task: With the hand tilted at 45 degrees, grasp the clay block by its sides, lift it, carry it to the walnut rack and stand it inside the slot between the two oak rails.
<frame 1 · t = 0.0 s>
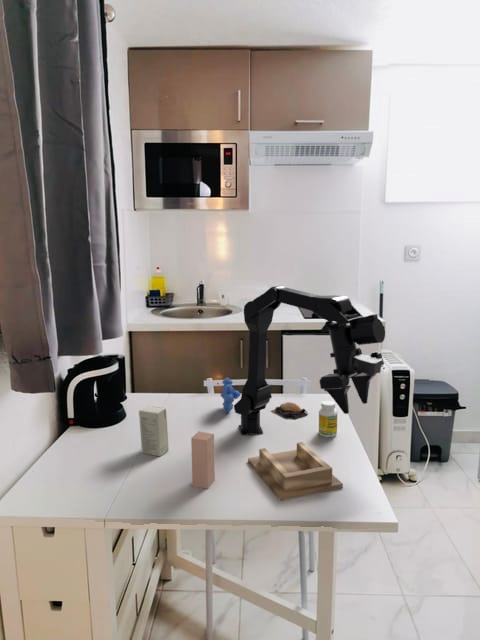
hand: (356, 408, 123), 15 cm above the table, tool pointing down, fingers open, 9 cm apart
skincare box: (154, 452, 135), on the table
clay block: (203, 483, 118), on the table
rack: (292, 474, 122), on the table
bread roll: (289, 414, 162), on the table
supplement bottle: (327, 434, 146), on the table
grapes: (230, 412, 164), on the table
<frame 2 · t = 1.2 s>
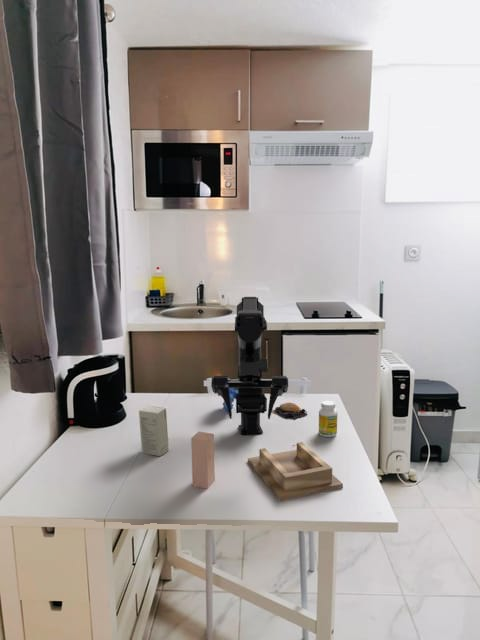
hand: (249, 418, 119), 15 cm above the table, tool tilted 35°, fingers open, 9 cm apart
nothing on the table moved.
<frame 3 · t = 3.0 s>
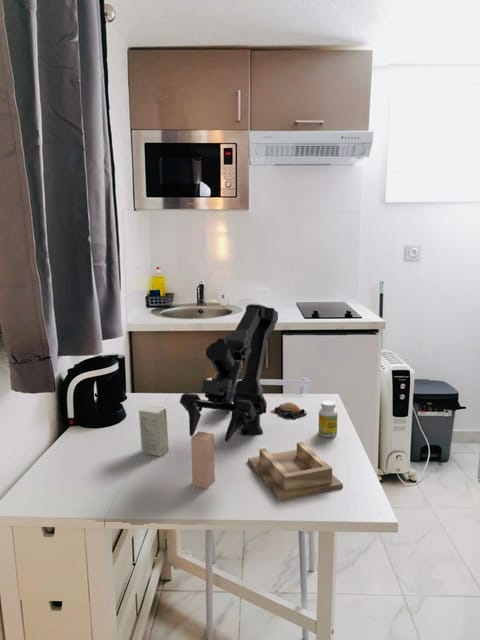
hand: (208, 438, 119), 10 cm above the table, tool tilted 45°, fingers open, 9 cm apart
nothing on the table moved.
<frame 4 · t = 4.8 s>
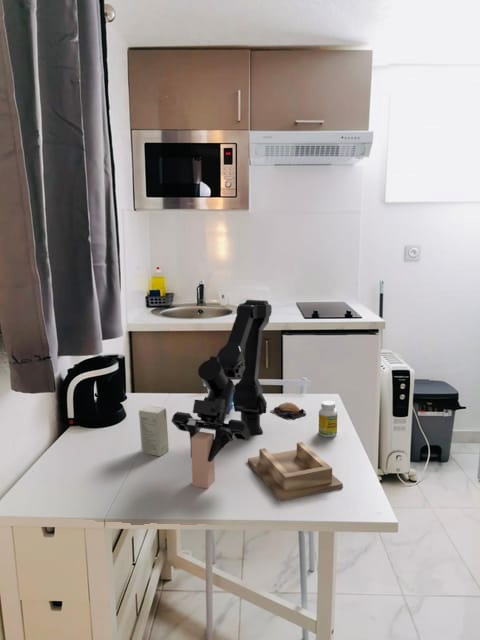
hand: (200, 459, 116), 7 cm above the table, tool tilted 45°, fingers closed on clay block, 4 cm apart
clay block: (203, 483, 118), on the table, touching gripper
everything else where it was.
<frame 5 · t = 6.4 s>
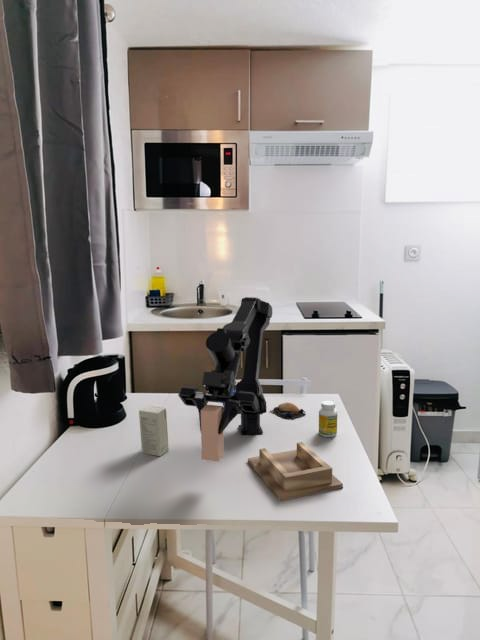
hand: (210, 432, 114), 13 cm above the table, tool tilted 45°, fingers closed on clay block, 4 cm apart
clay block: (212, 456, 117), point 7 cm above the table, touching gripper
everything else where it was.
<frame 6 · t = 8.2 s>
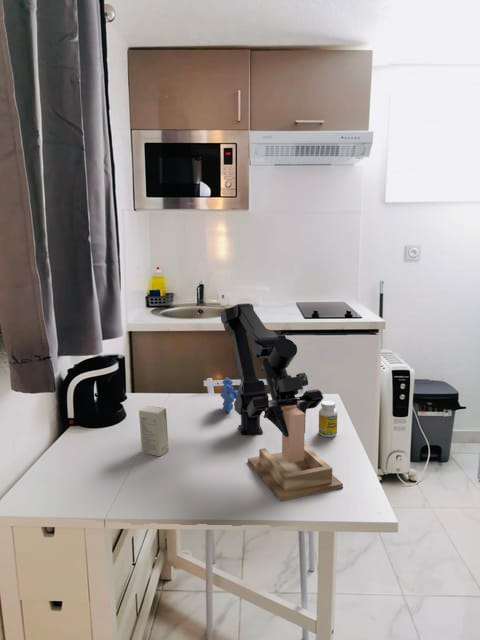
hand: (295, 435, 119), 11 cm above the table, tool tilted 45°, fingers closed on clay block, 4 cm apart
clay block: (292, 458, 121), point 4 cm above the table, touching gripper
everything else where it was.
when the fingers open (9 cm above the table, at t = 8.9 s): clay block drops 1 cm, resting on rack.
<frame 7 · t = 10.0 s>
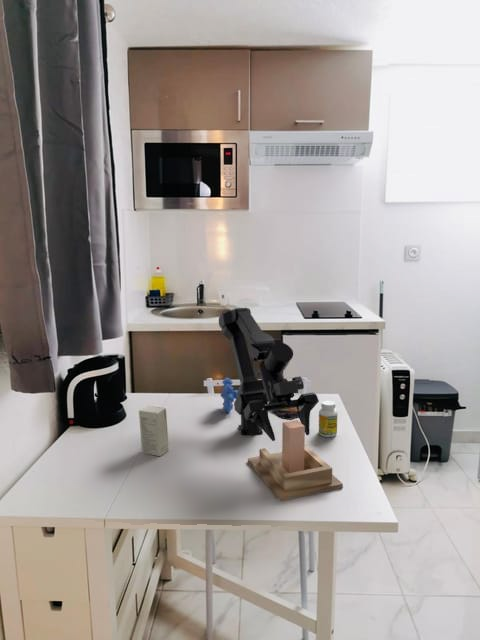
hand: (291, 437, 121), 9 cm above the table, tool tilted 45°, fingers open, 9 cm apart
clay block: (292, 470, 122), point 1 cm above the table, touching rack
everything else where it was.
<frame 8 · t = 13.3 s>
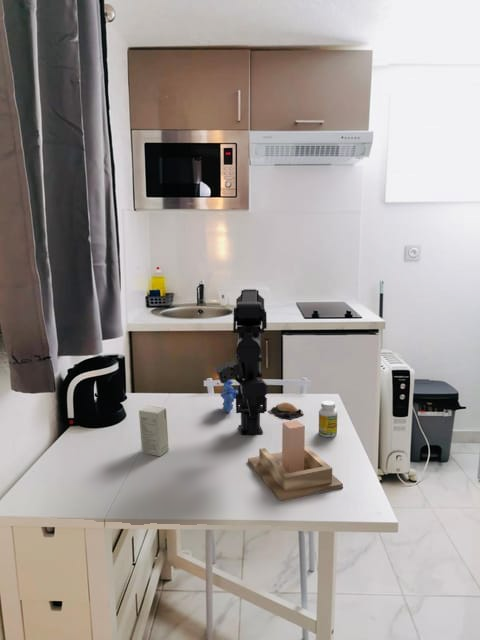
hand: (249, 410, 129), 13 cm above the table, tool pointing down, fingers open, 9 cm apart
at the end: clay block inside the target area on the rack (0.0 cm from its centre), point 1.0 cm above the rack's base; clay block tilted 0°; the gripper is holding nothing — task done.
